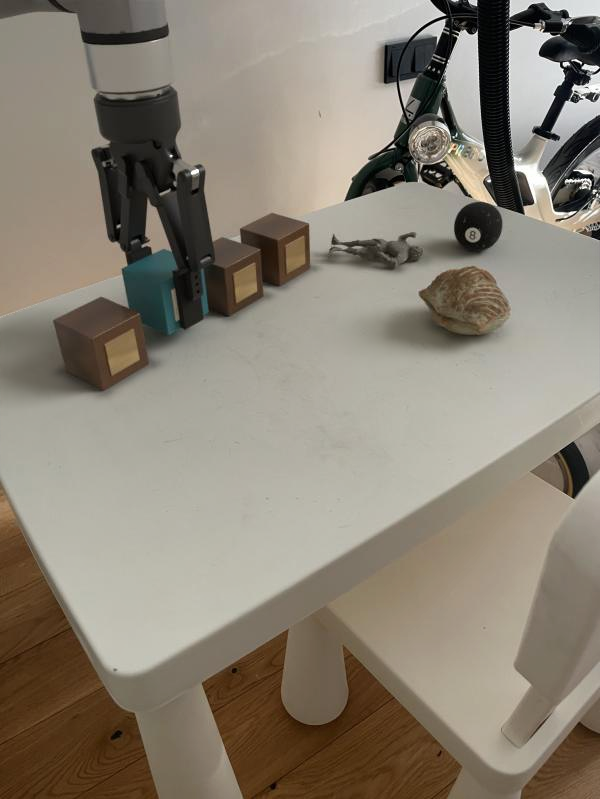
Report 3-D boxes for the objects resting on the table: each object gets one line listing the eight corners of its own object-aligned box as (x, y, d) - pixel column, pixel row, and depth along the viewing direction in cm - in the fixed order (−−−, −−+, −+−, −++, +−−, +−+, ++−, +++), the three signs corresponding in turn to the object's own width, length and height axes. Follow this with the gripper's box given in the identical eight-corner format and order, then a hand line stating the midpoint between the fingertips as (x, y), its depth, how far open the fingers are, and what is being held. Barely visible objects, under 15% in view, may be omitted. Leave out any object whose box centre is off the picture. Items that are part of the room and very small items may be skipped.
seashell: (464, 361, 75) (518, 331, 79) (469, 303, 71) (527, 274, 74) (403, 321, 81) (456, 295, 85) (405, 266, 77) (460, 240, 80)
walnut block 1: (65, 371, 75) (52, 319, 72) (111, 345, 79) (101, 296, 75) (104, 391, 72) (92, 339, 68) (150, 364, 76) (141, 313, 72)
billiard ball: (503, 242, 97) (509, 198, 93) (493, 261, 92) (499, 215, 89) (458, 236, 99) (462, 192, 95) (446, 254, 95) (451, 209, 91)
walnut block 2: (191, 301, 86) (185, 254, 83) (226, 282, 90) (222, 236, 86) (230, 317, 83) (225, 268, 80) (264, 296, 87) (261, 249, 83)
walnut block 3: (243, 273, 92) (239, 228, 88) (274, 256, 96) (271, 212, 92) (281, 286, 89) (278, 240, 85) (311, 268, 92) (310, 223, 89)
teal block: (130, 319, 80) (120, 268, 76) (171, 297, 83) (163, 248, 80) (169, 336, 76) (161, 284, 73) (210, 312, 80) (204, 262, 77)
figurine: (330, 221, 95) (424, 218, 92) (334, 244, 98) (425, 242, 95) (324, 254, 91) (421, 251, 89) (328, 277, 94) (423, 275, 92)
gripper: (241, 93, 63) (259, 325, 77) (99, 69, 73) (137, 278, 87) (178, 113, 59) (209, 357, 72) (36, 84, 69) (86, 303, 82)
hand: (170, 313), depth 80 cm, fingers closed on teal block, 6 cm apart
